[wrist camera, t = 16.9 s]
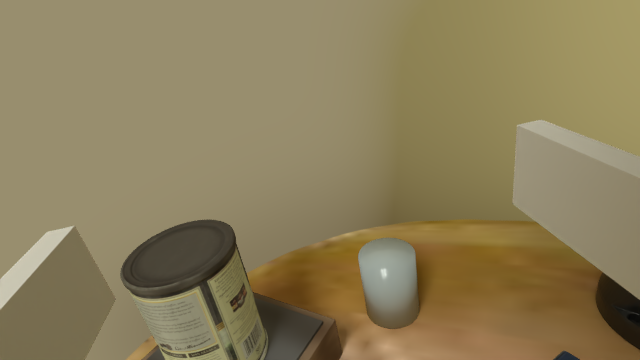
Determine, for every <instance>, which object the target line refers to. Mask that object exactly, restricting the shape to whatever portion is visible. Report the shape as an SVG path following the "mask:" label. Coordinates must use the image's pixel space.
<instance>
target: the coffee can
mask: <svg viewBox="0 0 640 360" xmlns="http://www.w3.org/2000/svg"><path fill="white" fill-rule="evenodd" d="M120 276H121V280H122V282H123V284H124V285H125V287H126V288H127V289H128V290H129V292H130V293H131V295H132V297H133V299H134V301H135V303H136V305H137V307H138V309H139V311H140V312H141V314H142V316H143V318H144V320H145V322H146V324H147V326H148V328H149V330H150V332H151V333H152V335H153V337H154V339H155V341H156V343H157V345H158V347H159V348H160V350H161V352H162V354H163V356H164V358H165V360H264V358H265V356H266V353H267V348H268V336H267V332H266V330H265V328H264V326H263V323H262V320H261V316H260V313H259V311H258V307H257V305H256V302H255V299H254V296H253V293H252V290H251V287H250V284H249V281H248V278H247V274H246V271H245V268H244V266H243V262H242V260H241V256H240V253H239V250H238V247H237V244H236V237H235V233H234V231H233V229H232V227H231V226H230V225H228V224H226V223H224V222H221V221H216V220H198V221H192V222H187V223H184V224H180V225H177V226H174V227H172V228H169V229H167V230H165V231H163V232H161V233H159V234H157V235H155V236H153V237H151V238H150V239H148V240H147V241H145V242H144V243H142V244H141V245H140V246H138V247H137V248H136V249H135V250H134V251H133V252H132V253H131V254H130V255H129V256H128V258H127V259H126V260H125V262H124V263H123V266H122V268H121V273H120Z"/></svg>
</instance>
